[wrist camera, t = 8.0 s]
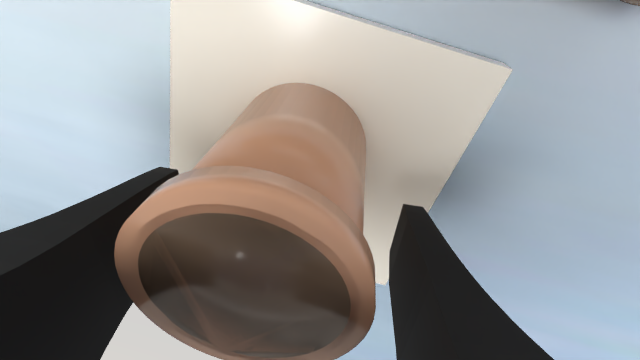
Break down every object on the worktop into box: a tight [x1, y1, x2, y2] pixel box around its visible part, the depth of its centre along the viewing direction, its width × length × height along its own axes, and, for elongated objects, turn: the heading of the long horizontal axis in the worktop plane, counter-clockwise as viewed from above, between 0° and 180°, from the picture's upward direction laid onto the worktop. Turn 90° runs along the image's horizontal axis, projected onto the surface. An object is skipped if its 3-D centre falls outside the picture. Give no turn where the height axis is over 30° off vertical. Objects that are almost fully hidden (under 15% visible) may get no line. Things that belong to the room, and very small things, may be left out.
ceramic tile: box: [170, 0, 512, 285], centre depth 14 cm, size 11×11×1 cm
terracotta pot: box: [114, 83, 376, 360], centre depth 10 cm, size 6×6×7 cm
